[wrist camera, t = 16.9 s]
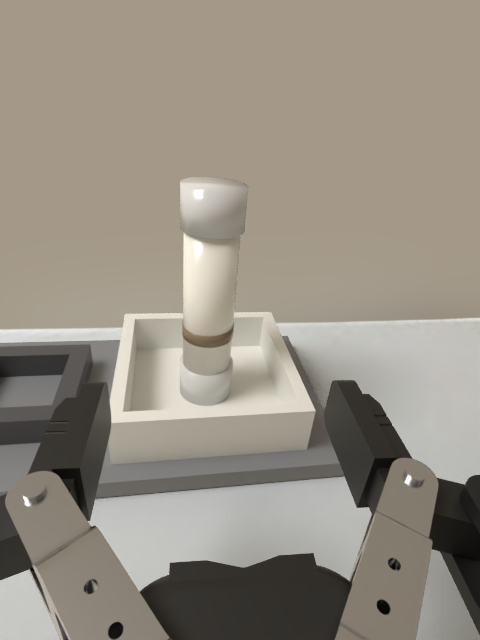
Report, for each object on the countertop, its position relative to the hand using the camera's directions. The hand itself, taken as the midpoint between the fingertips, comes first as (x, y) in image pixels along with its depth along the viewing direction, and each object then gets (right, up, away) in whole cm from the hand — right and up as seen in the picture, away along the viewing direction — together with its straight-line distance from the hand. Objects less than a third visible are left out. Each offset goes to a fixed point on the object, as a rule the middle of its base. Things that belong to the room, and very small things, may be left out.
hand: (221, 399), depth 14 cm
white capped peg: (-2, -2, +14) cm, 14 cm away
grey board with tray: (-7, -3, +14) cm, 16 cm away
